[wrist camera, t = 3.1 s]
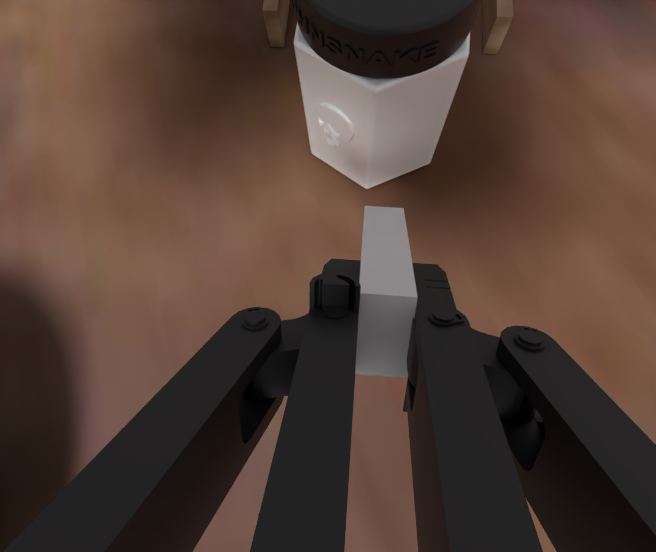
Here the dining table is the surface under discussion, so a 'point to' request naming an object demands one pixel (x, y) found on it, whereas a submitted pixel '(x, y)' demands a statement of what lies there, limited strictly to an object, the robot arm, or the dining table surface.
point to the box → (493, 22)
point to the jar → (379, 80)
